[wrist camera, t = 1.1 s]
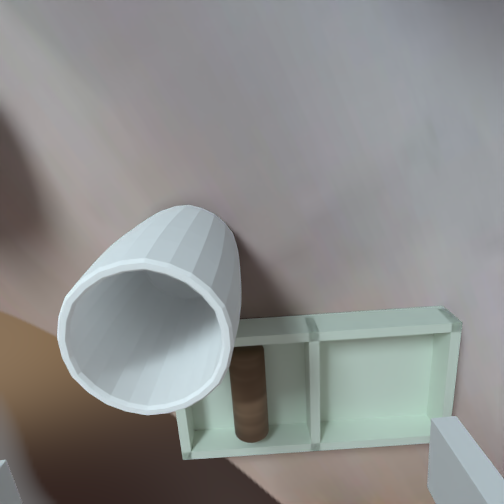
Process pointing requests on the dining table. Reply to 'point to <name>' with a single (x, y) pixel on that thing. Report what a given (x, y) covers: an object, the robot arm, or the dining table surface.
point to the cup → (156, 314)
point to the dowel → (249, 393)
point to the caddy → (337, 383)
